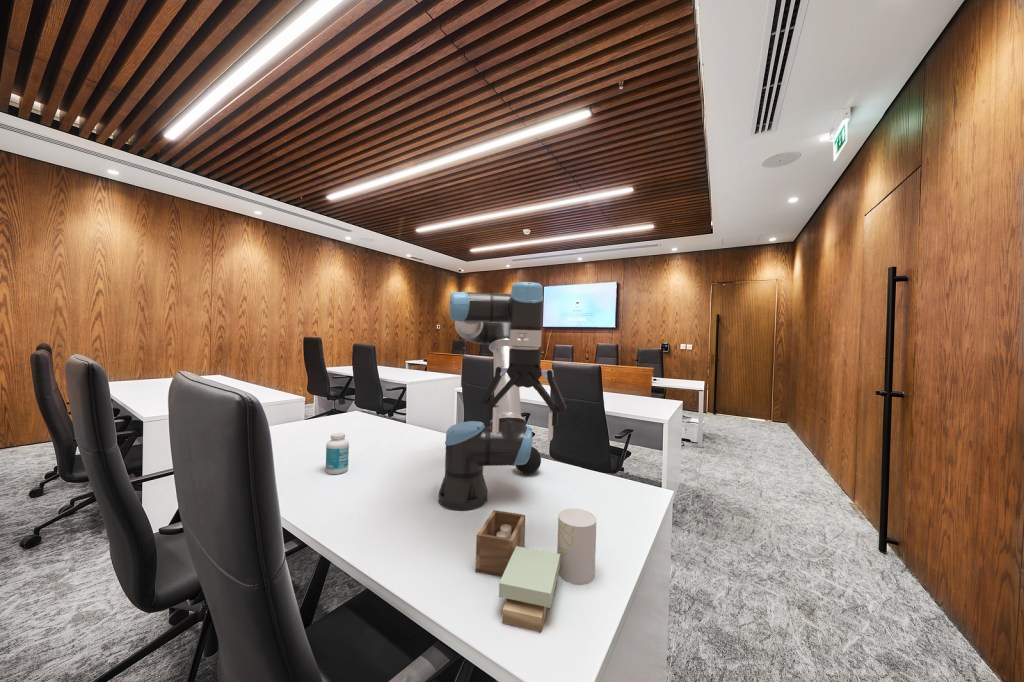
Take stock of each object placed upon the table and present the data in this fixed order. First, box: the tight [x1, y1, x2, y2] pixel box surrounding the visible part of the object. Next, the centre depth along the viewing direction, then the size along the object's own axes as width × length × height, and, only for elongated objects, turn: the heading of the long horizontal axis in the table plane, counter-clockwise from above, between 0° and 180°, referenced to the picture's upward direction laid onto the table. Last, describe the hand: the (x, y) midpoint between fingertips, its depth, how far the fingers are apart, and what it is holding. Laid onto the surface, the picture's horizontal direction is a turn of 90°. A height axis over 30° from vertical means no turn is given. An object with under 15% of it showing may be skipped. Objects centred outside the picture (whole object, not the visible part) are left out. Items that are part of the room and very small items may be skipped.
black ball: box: [514, 446, 542, 475], centre depth 138 cm, size 10×10×10 cm
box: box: [475, 509, 526, 578], centre depth 85 cm, size 12×8×8 cm, turn 165°
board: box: [501, 598, 548, 633], centre depth 73 cm, size 16×7×2 cm, turn 165°
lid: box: [498, 546, 560, 609], centre depth 73 cm, size 12×10×3 cm
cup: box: [556, 508, 597, 586], centre depth 81 cm, size 8×8×12 cm
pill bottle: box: [325, 432, 350, 475], centre depth 135 cm, size 8×7×14 cm
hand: (522, 436), depth 90 cm, fingers open, 13 cm apart
